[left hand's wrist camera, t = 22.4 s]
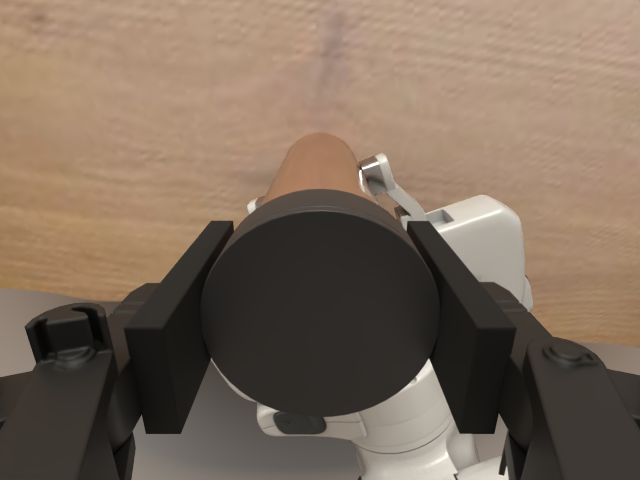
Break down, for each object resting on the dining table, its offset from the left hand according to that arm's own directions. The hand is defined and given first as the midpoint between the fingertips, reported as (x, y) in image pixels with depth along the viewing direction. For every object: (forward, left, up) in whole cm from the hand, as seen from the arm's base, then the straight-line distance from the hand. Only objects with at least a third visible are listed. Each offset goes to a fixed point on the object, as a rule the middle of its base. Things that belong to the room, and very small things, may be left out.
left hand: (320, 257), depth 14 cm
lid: (0, 0, +4) cm, 4 cm away
